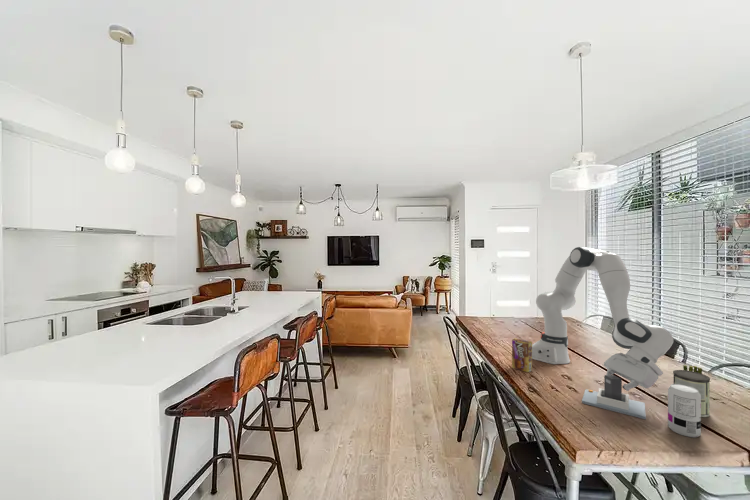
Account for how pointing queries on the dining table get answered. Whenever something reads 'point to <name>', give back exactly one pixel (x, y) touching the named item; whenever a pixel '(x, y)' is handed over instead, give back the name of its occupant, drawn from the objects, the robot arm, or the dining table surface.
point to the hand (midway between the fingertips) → (615, 384)
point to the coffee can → (695, 386)
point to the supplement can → (684, 410)
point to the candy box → (522, 355)
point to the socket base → (614, 403)
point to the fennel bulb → (692, 369)
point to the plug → (613, 387)
